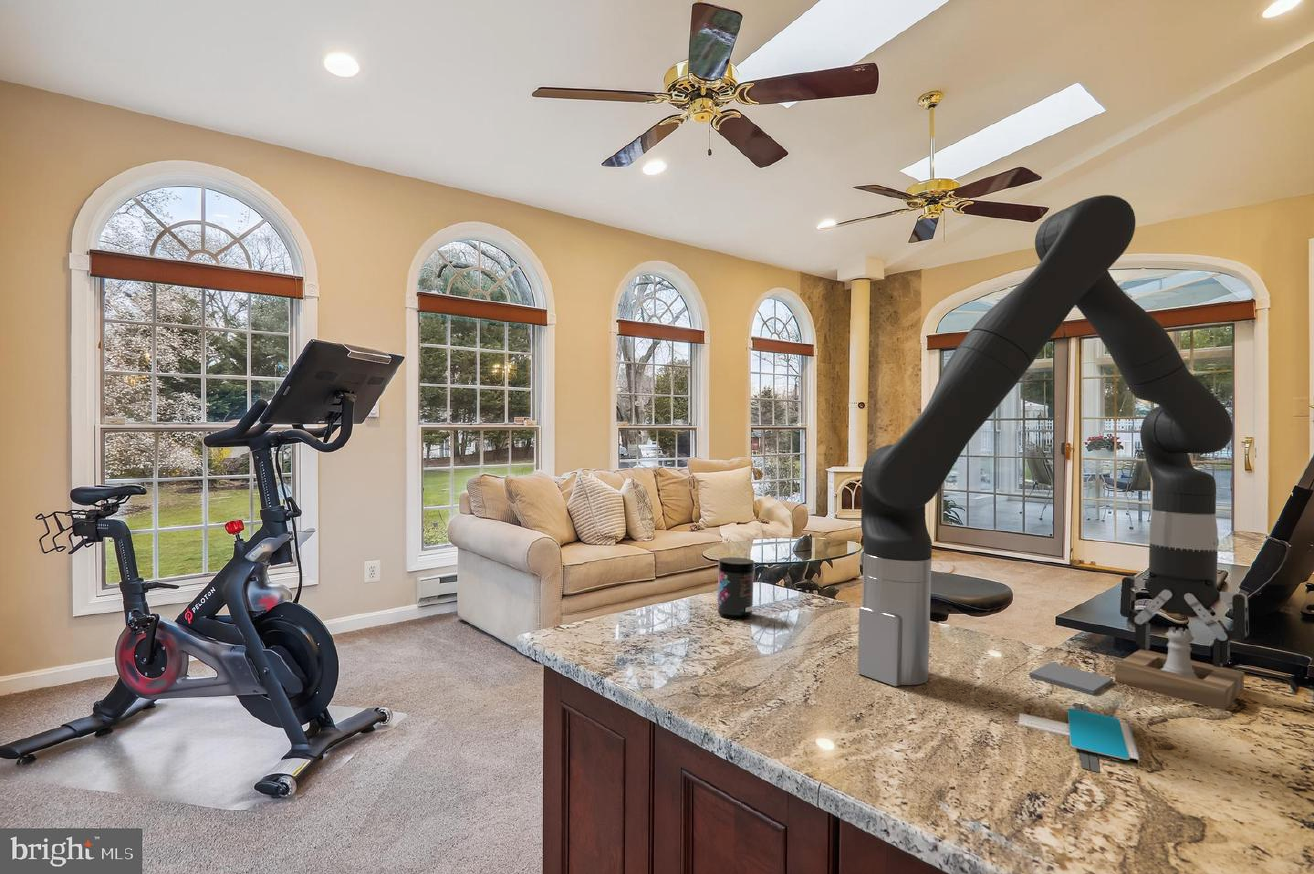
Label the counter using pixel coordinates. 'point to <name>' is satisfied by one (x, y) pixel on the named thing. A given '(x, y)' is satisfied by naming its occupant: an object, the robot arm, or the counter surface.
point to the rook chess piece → (1179, 652)
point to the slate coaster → (1071, 678)
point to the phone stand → (1090, 735)
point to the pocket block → (1181, 679)
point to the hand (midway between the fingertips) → (1180, 657)
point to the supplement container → (735, 588)
